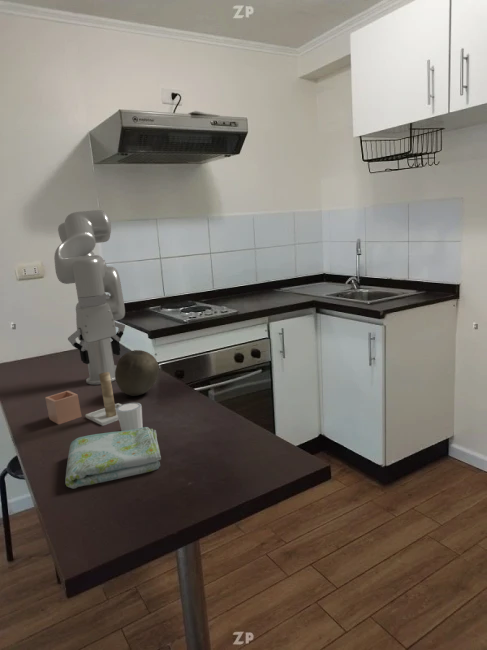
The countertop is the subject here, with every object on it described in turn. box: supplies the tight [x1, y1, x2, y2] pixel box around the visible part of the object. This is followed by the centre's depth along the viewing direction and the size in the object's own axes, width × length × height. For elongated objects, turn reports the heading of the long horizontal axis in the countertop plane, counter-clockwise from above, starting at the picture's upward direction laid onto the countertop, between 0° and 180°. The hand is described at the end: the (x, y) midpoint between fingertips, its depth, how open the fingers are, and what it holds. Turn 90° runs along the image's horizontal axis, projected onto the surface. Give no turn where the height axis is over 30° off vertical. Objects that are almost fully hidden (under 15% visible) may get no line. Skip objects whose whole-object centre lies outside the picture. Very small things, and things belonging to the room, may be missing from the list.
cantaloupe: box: [115, 349, 160, 397], centre depth 161 cm, size 14×14×15 cm
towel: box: [64, 426, 162, 490], centre depth 114 cm, size 18×21×5 cm
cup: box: [44, 390, 83, 425], centre depth 145 cm, size 7×7×8 cm
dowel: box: [99, 372, 116, 417], centre depth 142 cm, size 3×3×13 cm
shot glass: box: [116, 402, 143, 431], centre depth 131 cm, size 7×7×7 cm
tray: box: [85, 402, 123, 427], centre depth 143 cm, size 11×11×2 cm
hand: (101, 358), depth 141 cm, fingers open, 9 cm apart
